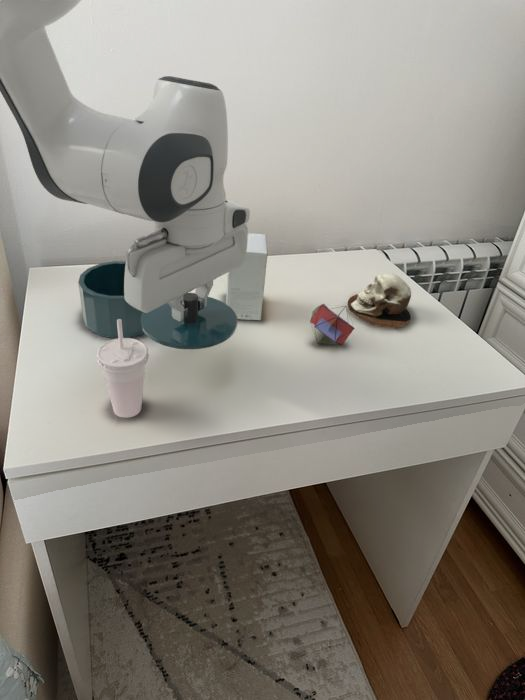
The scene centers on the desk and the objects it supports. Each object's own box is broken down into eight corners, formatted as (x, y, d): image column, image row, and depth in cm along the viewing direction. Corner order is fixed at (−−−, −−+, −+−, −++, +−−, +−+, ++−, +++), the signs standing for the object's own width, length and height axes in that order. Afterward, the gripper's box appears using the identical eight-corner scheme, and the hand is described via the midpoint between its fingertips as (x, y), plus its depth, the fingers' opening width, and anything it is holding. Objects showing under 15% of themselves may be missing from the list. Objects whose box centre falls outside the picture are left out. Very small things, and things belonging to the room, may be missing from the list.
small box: (261, 321, 94) (268, 253, 87) (225, 319, 94) (229, 251, 86) (260, 298, 101) (266, 233, 93) (226, 296, 100) (229, 231, 93)
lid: (191, 366, 69) (192, 335, 66) (120, 325, 75) (117, 296, 72) (255, 324, 78) (258, 296, 75) (187, 292, 84) (187, 265, 81)
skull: (356, 326, 93) (354, 269, 94) (342, 334, 103) (341, 282, 105) (422, 326, 94) (420, 270, 95) (402, 335, 104) (400, 283, 106)
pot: (118, 347, 84) (115, 307, 80) (68, 317, 90) (62, 278, 86) (175, 317, 93) (174, 278, 88) (125, 291, 98) (122, 254, 94)
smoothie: (143, 389, 77) (139, 305, 69) (157, 417, 72) (153, 331, 64) (98, 399, 74) (87, 313, 66) (109, 429, 70) (99, 341, 61)
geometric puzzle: (366, 330, 91) (346, 289, 88) (353, 350, 85) (332, 306, 83) (331, 340, 95) (311, 301, 93) (316, 359, 90) (295, 319, 88)
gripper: (145, 252, 59) (150, 353, 67) (258, 207, 73) (251, 295, 81) (107, 234, 62) (116, 334, 70) (222, 194, 75) (219, 281, 83)
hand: (189, 312), depth 75 cm, fingers closed on lid, 2 cm apart
